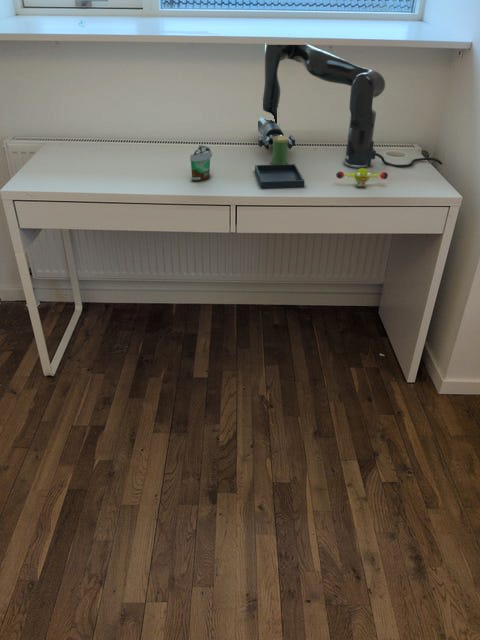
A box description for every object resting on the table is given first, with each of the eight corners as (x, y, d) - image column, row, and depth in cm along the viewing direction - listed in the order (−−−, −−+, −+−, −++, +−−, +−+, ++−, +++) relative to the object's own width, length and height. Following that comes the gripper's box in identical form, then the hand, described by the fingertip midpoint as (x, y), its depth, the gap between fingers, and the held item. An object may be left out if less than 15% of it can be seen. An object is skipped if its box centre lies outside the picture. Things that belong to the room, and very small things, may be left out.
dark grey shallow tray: (294, 170, 204) (295, 164, 202) (303, 187, 190) (304, 180, 188) (254, 171, 202) (255, 165, 201) (261, 188, 188) (261, 181, 187)
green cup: (285, 161, 212) (286, 135, 207) (287, 166, 208) (289, 139, 202) (270, 161, 212) (271, 135, 206) (273, 166, 207) (274, 140, 201)
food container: (207, 184, 191) (207, 156, 185) (191, 183, 192) (189, 155, 186) (216, 172, 201) (215, 145, 195) (200, 171, 202) (199, 144, 196)
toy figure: (336, 189, 188) (338, 170, 184) (334, 184, 193) (336, 165, 189) (387, 190, 189) (391, 171, 185) (384, 184, 193) (387, 166, 189)
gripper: (255, 125, 218) (261, 137, 205) (290, 124, 219) (298, 136, 206) (255, 144, 222) (260, 157, 209) (289, 143, 224) (296, 156, 211)
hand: (279, 146), depth 208 cm, fingers open, 8 cm apart
